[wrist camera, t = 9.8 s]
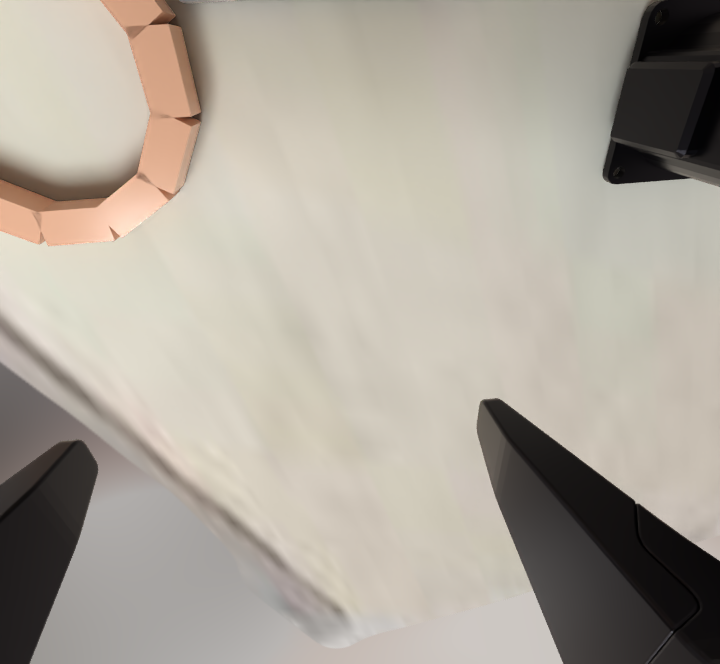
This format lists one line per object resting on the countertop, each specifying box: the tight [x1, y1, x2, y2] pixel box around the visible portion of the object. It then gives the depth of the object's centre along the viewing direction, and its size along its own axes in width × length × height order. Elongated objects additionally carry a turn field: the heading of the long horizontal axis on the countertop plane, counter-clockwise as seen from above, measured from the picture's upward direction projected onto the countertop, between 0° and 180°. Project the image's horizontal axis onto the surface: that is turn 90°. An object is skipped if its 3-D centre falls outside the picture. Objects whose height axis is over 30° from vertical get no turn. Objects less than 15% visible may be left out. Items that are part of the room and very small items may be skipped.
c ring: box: [0, 0, 201, 246], centre depth 15 cm, size 11×11×2 cm
